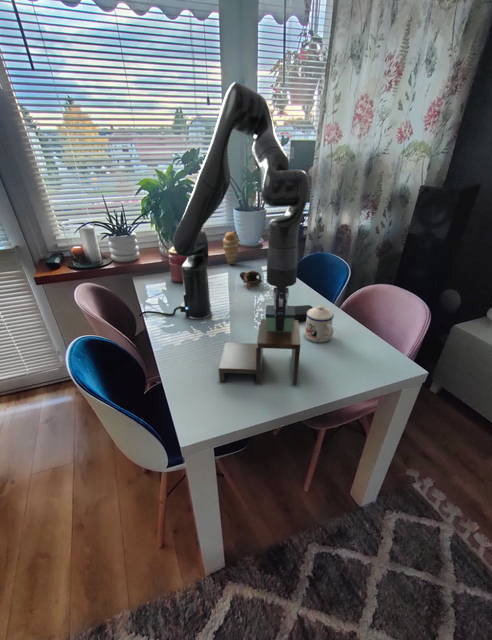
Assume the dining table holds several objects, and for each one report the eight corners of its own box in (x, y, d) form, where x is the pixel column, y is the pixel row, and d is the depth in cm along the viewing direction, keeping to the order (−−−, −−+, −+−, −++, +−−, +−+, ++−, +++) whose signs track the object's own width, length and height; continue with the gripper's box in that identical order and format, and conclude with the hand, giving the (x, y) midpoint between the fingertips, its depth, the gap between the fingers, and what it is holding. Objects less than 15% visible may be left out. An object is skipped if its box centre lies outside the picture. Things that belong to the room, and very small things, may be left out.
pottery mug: (265, 284, 158) (266, 272, 151) (256, 298, 155) (256, 287, 147) (243, 274, 161) (243, 263, 153) (234, 288, 157) (233, 277, 150)
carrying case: (282, 325, 121) (320, 322, 124) (283, 318, 120) (321, 314, 122) (276, 313, 130) (311, 310, 132) (276, 306, 129) (312, 303, 131)
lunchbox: (265, 331, 87) (265, 314, 84) (265, 321, 92) (266, 305, 89) (293, 331, 87) (295, 314, 84) (293, 322, 91) (294, 305, 89)
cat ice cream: (240, 262, 185) (239, 229, 175) (237, 266, 179) (236, 232, 169) (225, 261, 187) (223, 228, 177) (222, 265, 180) (219, 231, 170)
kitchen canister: (176, 273, 170) (171, 238, 160) (200, 274, 169) (196, 239, 159) (167, 282, 159) (161, 245, 150) (192, 283, 158) (188, 246, 148)
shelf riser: (219, 382, 93) (216, 342, 85) (226, 355, 104) (224, 318, 97) (296, 385, 91) (300, 344, 84) (295, 358, 103) (298, 320, 95)
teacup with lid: (299, 333, 116) (302, 303, 110) (320, 328, 119) (324, 298, 113) (318, 349, 107) (322, 317, 101) (340, 343, 110) (346, 312, 104)
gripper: (267, 255, 86) (266, 313, 95) (265, 273, 74) (264, 337, 83) (296, 255, 85) (292, 313, 95) (298, 273, 73) (294, 338, 83)
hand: (279, 324), depth 89 cm, fingers closed on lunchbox, 5 cm apart
